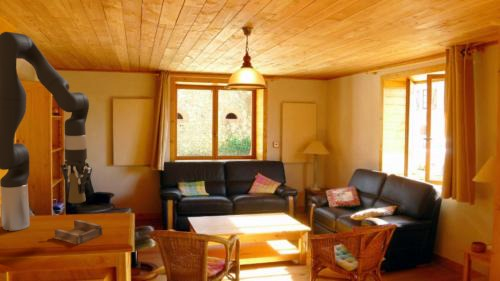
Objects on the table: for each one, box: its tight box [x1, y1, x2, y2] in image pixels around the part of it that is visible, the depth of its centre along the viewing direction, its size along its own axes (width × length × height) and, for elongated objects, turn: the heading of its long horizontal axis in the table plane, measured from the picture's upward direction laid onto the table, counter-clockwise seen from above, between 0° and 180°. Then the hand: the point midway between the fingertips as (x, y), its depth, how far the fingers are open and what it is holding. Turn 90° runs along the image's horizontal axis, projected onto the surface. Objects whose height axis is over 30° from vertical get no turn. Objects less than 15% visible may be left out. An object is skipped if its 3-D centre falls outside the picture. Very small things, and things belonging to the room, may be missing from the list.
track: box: [53, 219, 103, 246], centre depth 153 cm, size 13×11×4 cm
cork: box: [67, 173, 86, 204], centre depth 151 cm, size 6×6×11 cm
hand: (77, 192), depth 151 cm, fingers closed on cork, 4 cm apart
